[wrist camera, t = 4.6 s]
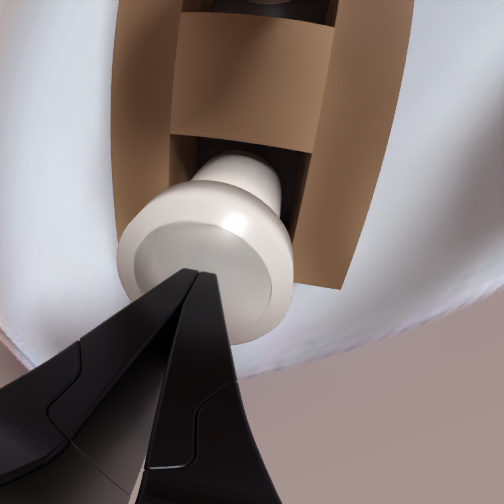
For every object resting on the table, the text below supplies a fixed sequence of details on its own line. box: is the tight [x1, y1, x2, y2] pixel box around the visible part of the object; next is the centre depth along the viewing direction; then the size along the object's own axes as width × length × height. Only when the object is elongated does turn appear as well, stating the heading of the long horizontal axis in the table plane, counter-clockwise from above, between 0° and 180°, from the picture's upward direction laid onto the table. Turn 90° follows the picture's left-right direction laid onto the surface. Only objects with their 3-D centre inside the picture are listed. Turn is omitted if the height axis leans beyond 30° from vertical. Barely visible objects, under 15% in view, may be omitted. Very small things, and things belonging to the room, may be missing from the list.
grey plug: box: [117, 150, 294, 345], centre depth 10 cm, size 5×5×6 cm
